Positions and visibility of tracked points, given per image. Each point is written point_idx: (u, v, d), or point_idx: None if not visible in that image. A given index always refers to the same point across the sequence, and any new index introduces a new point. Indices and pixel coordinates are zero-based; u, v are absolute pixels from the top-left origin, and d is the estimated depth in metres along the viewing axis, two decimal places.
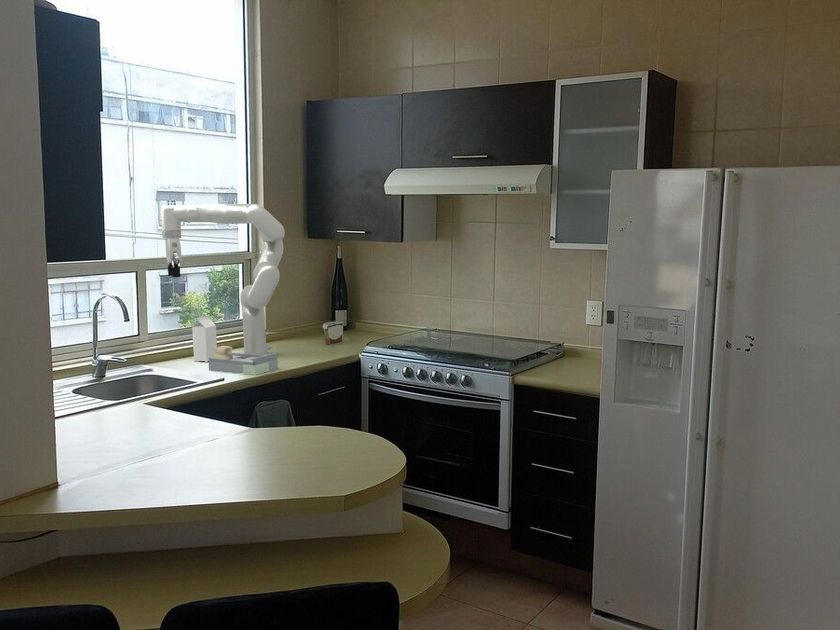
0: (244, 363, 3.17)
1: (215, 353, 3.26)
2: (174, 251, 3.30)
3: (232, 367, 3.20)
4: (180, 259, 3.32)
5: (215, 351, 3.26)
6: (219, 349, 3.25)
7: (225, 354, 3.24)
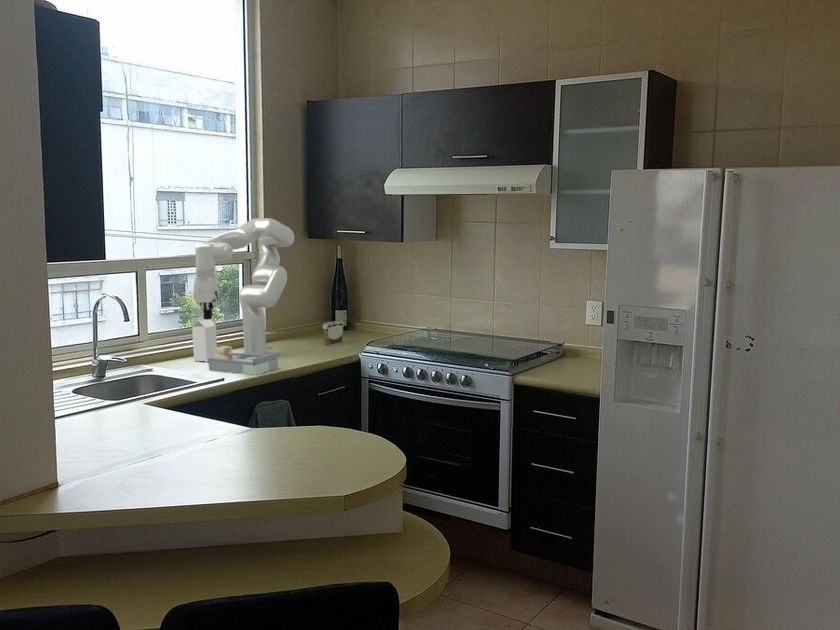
0: (244, 363, 3.17)
1: (215, 353, 3.26)
2: None
3: (232, 367, 3.20)
4: None
5: (215, 351, 3.26)
6: (219, 349, 3.25)
7: (225, 354, 3.24)
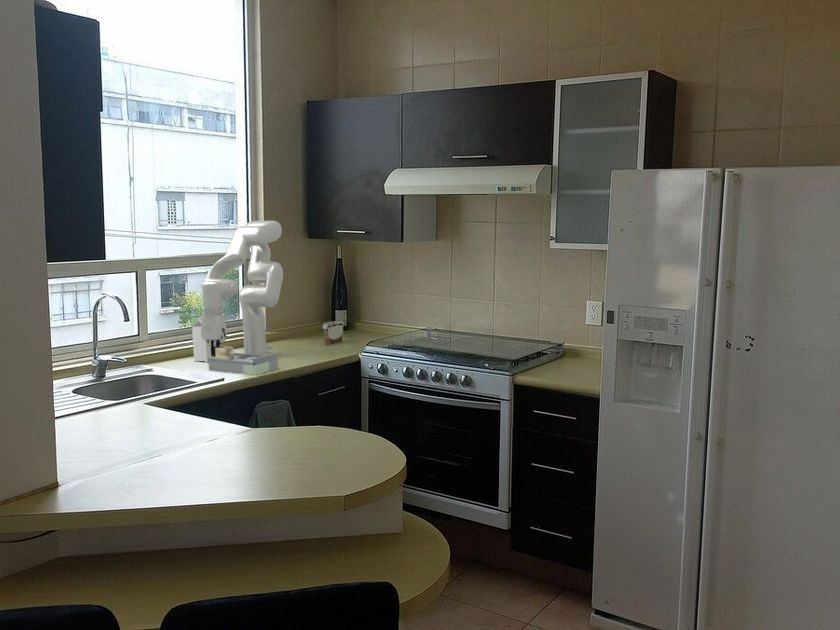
0: (244, 363, 3.17)
1: (216, 353, 3.25)
2: None
3: (232, 367, 3.20)
4: None
5: (216, 351, 3.25)
6: (220, 349, 3.24)
7: (226, 354, 3.24)
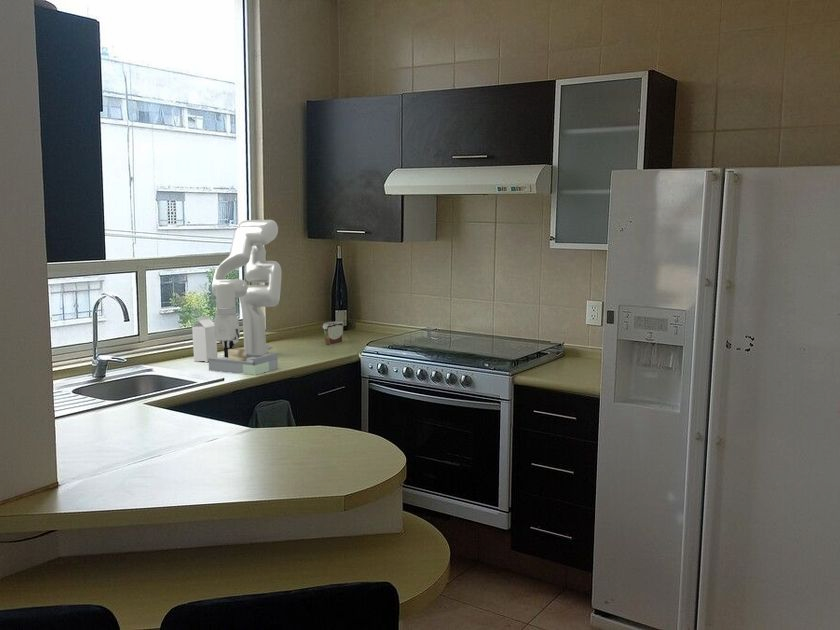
0: (244, 363, 3.17)
1: (229, 355, 3.22)
2: None
3: (232, 367, 3.20)
4: None
5: (229, 353, 3.21)
6: (233, 351, 3.20)
7: (238, 356, 3.20)
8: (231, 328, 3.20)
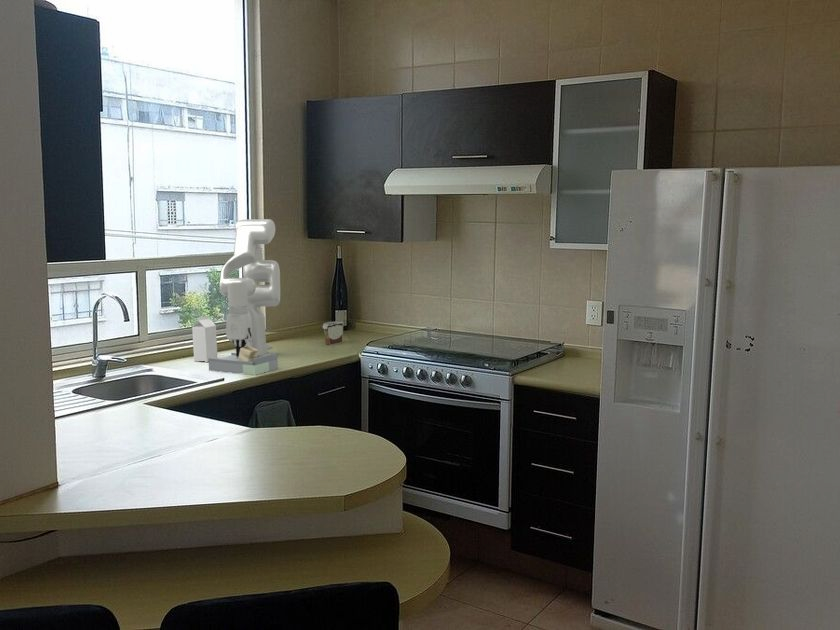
0: (244, 363, 3.17)
1: (240, 353, 3.18)
2: None
3: (232, 367, 3.20)
4: None
5: (241, 351, 3.18)
6: (245, 351, 3.17)
7: (249, 357, 3.17)
8: (243, 327, 3.16)
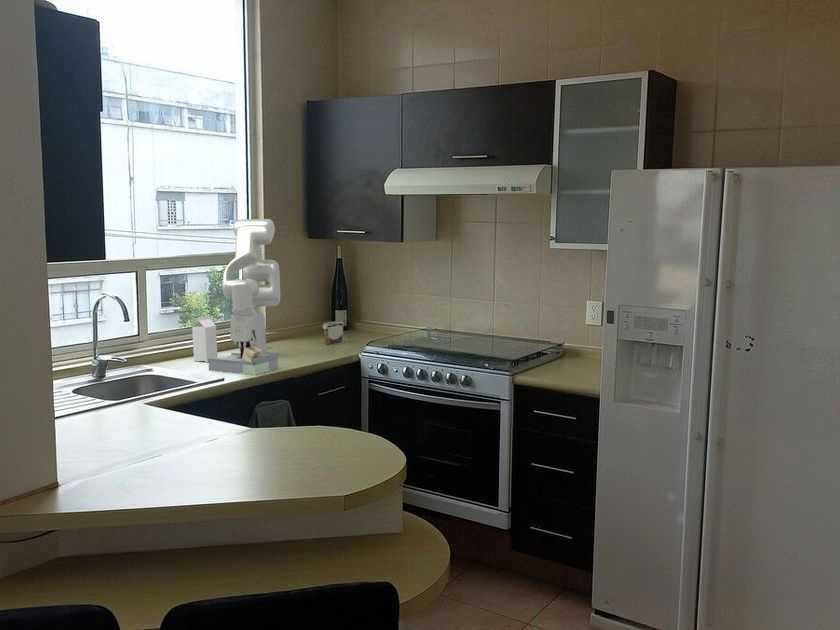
0: (244, 363, 3.17)
1: (244, 353, 3.17)
2: None
3: (232, 367, 3.20)
4: None
5: (244, 351, 3.17)
6: (249, 351, 3.16)
7: (253, 358, 3.16)
8: (248, 329, 3.16)
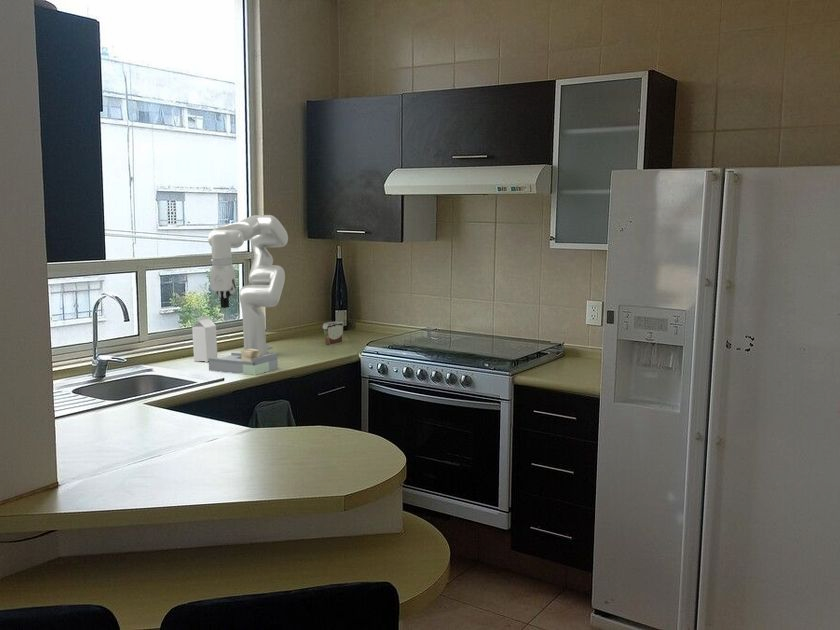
0: (244, 363, 3.17)
1: (242, 356, 3.18)
2: None
3: (232, 367, 3.20)
4: None
5: (242, 354, 3.18)
6: (246, 352, 3.17)
7: (251, 357, 3.16)
8: (228, 278, 3.20)
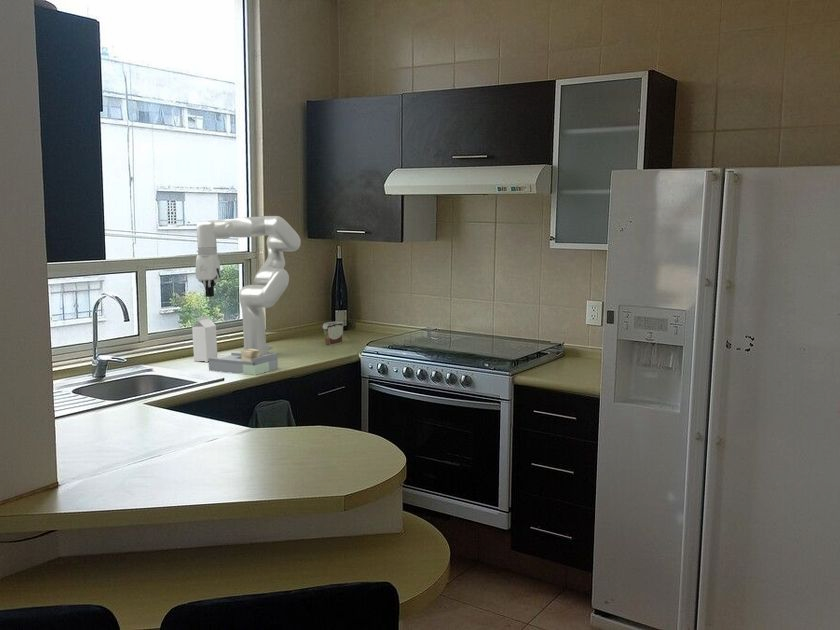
0: (244, 363, 3.17)
1: (242, 356, 3.18)
2: None
3: (232, 367, 3.20)
4: None
5: (242, 354, 3.18)
6: (246, 352, 3.17)
7: (251, 357, 3.16)
8: (212, 267, 3.26)
